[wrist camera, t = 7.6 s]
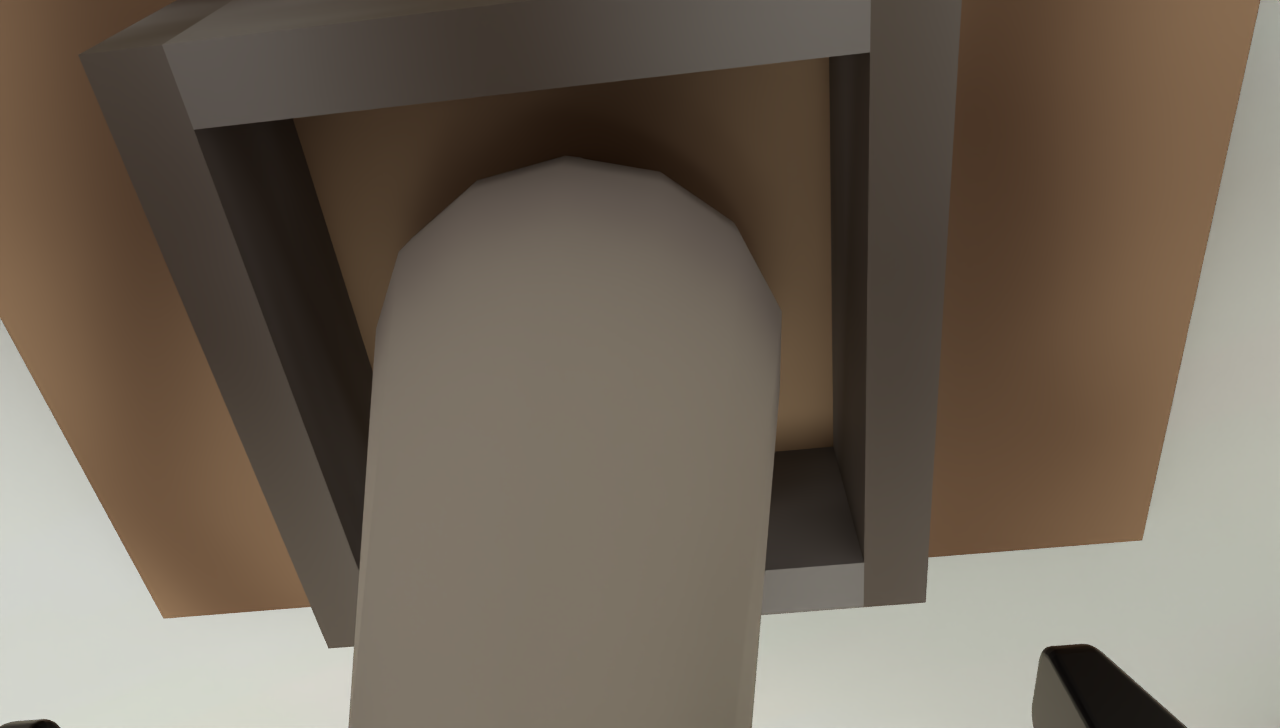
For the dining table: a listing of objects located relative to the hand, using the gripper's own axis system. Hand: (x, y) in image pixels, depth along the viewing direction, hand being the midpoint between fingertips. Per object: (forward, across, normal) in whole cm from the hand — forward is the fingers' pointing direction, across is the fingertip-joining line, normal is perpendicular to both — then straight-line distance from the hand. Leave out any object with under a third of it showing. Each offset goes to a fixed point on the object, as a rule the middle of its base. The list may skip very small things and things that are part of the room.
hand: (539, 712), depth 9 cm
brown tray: (+9, 0, 0) cm, 9 cm away
